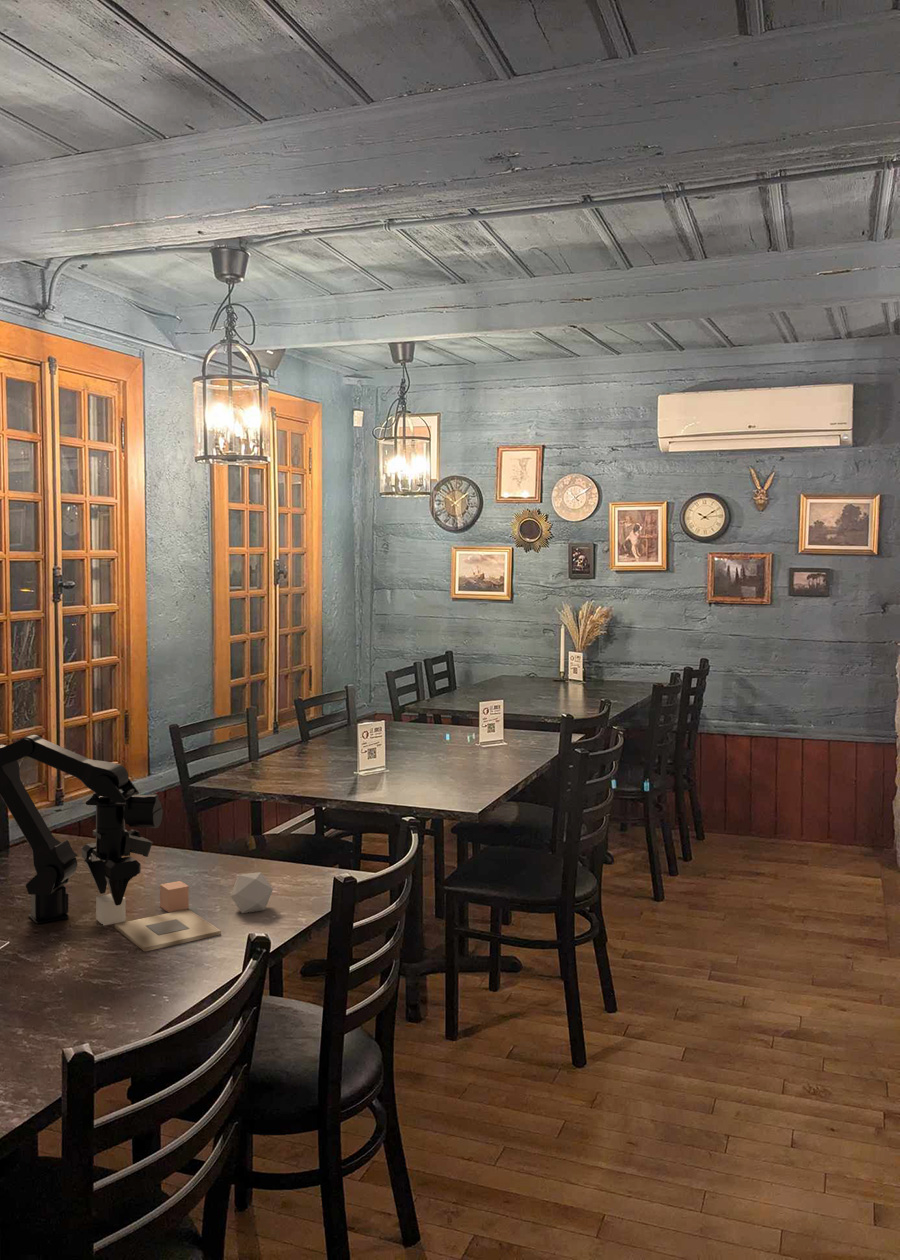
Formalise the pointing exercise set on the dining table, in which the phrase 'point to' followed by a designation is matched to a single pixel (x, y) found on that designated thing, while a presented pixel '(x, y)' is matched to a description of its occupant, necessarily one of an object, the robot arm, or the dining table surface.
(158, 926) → the tan board
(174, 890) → the terracotta block
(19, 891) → the dining table surface
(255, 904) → the die
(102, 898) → the cream block
